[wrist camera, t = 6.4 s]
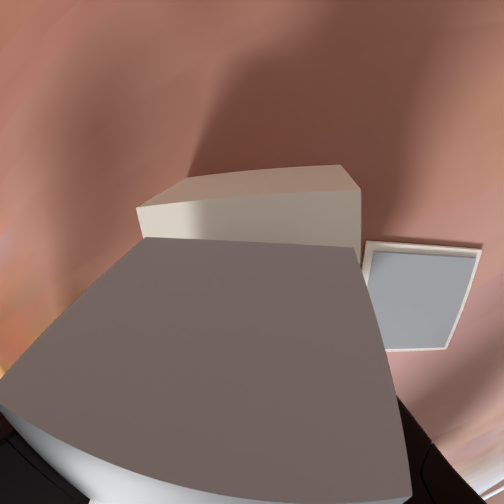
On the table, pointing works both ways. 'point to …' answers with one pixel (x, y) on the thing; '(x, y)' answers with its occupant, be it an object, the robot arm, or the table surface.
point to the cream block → (260, 207)
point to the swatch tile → (418, 291)
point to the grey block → (216, 381)
